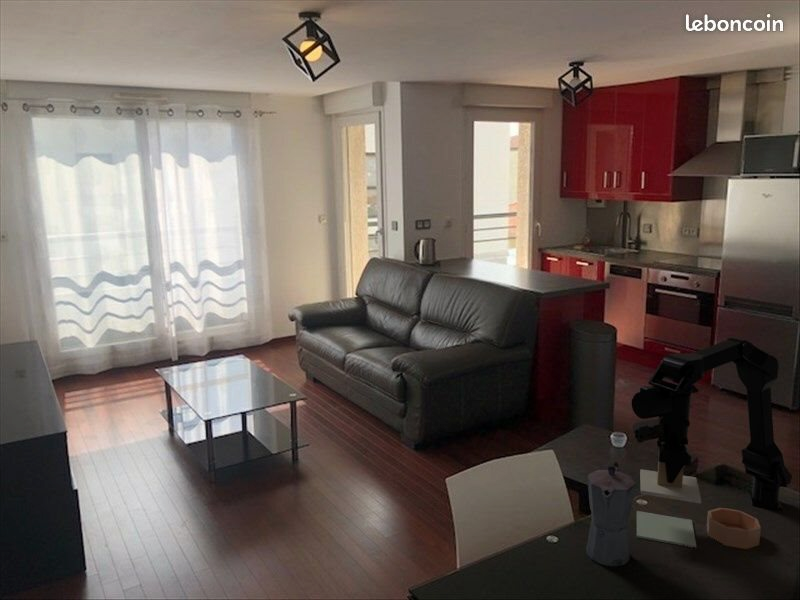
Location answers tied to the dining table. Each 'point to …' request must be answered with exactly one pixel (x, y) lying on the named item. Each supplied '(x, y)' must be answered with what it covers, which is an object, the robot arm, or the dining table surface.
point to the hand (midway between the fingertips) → (669, 479)
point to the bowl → (733, 528)
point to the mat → (665, 529)
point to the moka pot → (609, 516)
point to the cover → (669, 485)
